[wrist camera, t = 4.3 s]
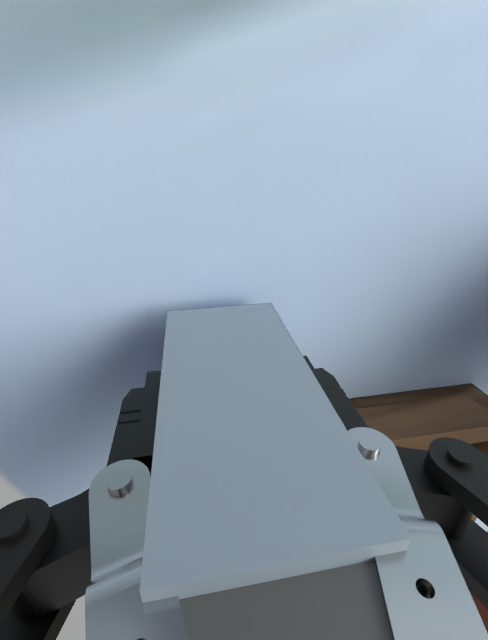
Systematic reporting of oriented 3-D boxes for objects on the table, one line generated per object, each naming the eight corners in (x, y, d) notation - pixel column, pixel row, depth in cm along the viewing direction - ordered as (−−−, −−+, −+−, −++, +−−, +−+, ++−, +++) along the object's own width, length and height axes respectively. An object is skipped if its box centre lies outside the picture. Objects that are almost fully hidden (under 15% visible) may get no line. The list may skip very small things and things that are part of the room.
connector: (167, 311, 12) (127, 700, 4) (271, 302, 13) (460, 620, 4) (178, 395, 14) (170, 791, 5) (269, 384, 15) (397, 727, 6)
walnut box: (222, 414, 16) (231, 470, 14) (472, 383, 18) (527, 426, 15) (231, 572, 23) (238, 634, 20) (417, 536, 25) (449, 587, 22)
